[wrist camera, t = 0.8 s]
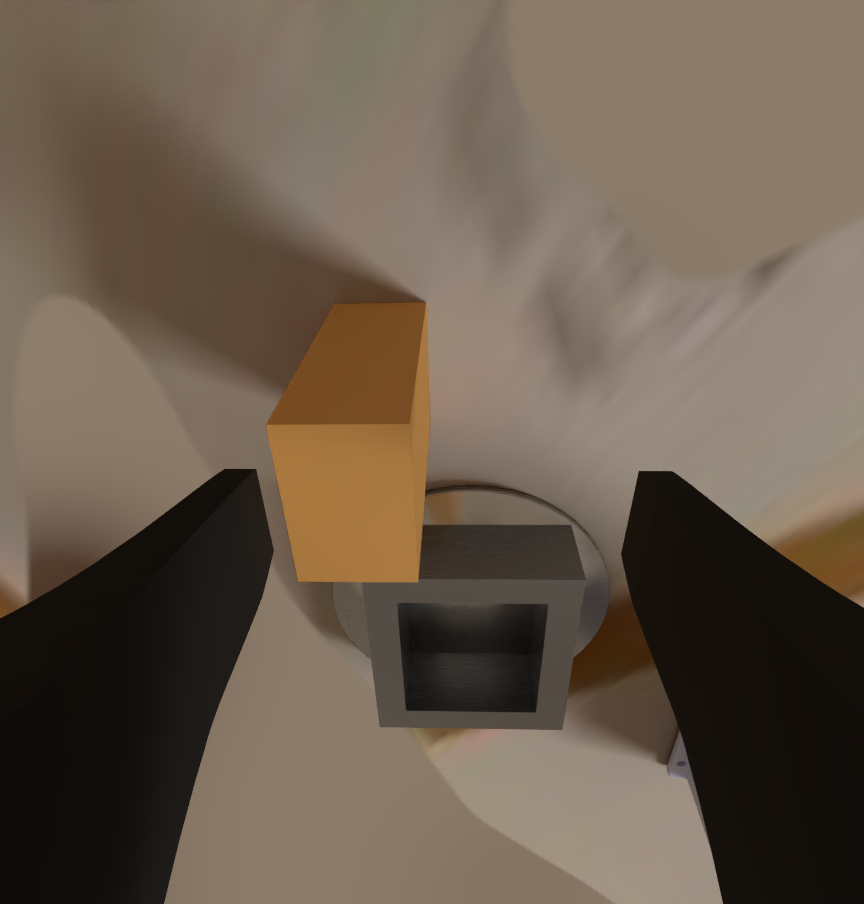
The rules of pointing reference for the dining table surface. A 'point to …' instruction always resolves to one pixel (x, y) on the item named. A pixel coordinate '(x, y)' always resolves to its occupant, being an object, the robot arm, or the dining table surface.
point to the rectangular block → (357, 446)
